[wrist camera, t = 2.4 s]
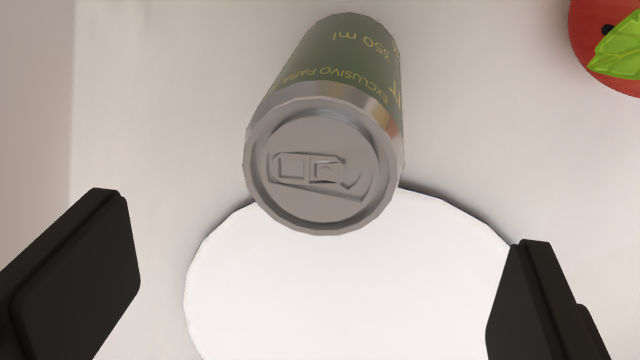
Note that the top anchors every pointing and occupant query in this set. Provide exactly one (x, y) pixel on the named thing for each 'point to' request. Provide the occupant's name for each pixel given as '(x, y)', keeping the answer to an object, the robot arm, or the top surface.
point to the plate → (347, 287)
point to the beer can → (330, 130)
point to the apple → (608, 41)
